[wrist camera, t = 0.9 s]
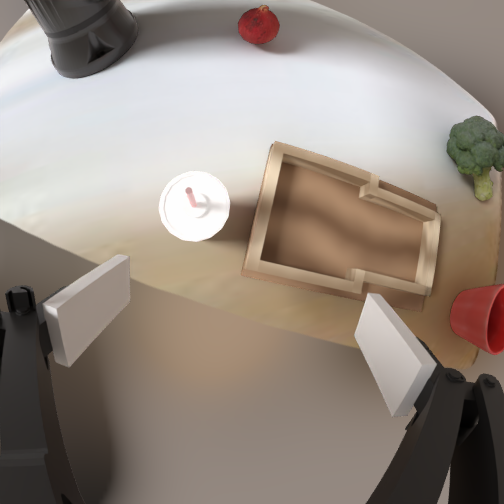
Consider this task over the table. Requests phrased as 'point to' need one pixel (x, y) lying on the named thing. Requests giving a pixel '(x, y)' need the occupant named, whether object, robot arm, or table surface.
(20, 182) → the table surface
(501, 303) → the flower pot
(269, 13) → the pomegranate
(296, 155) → the light brown wooden tray
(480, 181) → the vegetable
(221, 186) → the beverage cup
